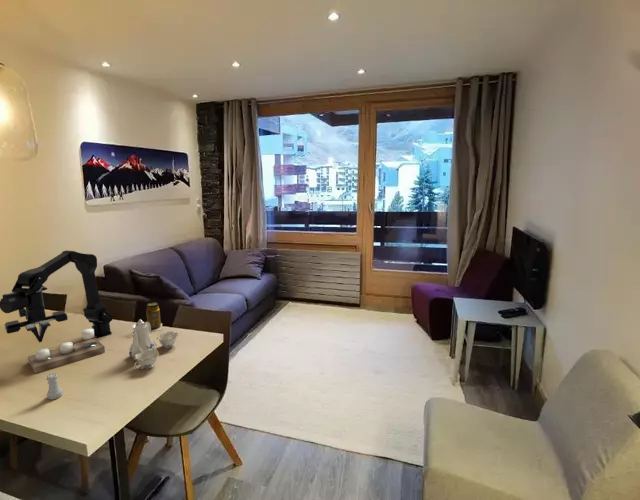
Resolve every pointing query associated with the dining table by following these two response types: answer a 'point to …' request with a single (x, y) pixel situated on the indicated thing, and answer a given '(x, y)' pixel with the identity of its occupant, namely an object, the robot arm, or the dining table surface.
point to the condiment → (153, 316)
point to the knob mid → (66, 347)
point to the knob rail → (67, 355)
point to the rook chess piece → (53, 387)
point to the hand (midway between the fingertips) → (40, 341)
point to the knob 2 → (87, 333)
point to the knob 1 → (42, 354)
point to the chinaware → (148, 344)
